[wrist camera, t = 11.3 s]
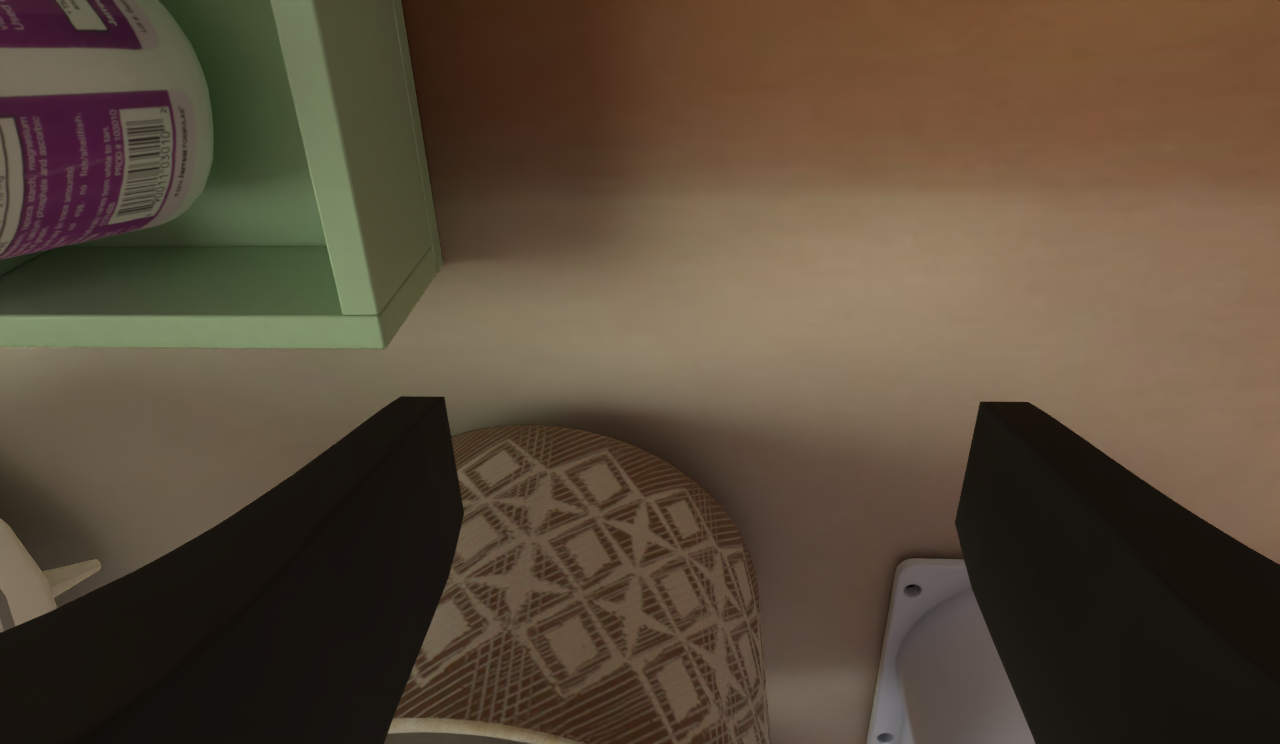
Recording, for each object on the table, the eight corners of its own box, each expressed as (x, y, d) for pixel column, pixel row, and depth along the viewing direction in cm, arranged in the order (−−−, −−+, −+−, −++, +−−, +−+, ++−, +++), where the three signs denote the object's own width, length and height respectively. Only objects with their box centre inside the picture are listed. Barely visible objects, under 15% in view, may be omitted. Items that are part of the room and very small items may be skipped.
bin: (443, 265, 22) (386, 350, 18) (56, 265, 22) (-84, 347, 18) (364, -239, 16) (256, -279, 12) (-142, -216, 17) (-399, -248, 13)
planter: (276, 485, 25) (46, 810, 16) (650, 337, 22) (615, 645, 13) (488, 734, 31) (401, 1081, 22) (813, 647, 28) (868, 1013, 19)
